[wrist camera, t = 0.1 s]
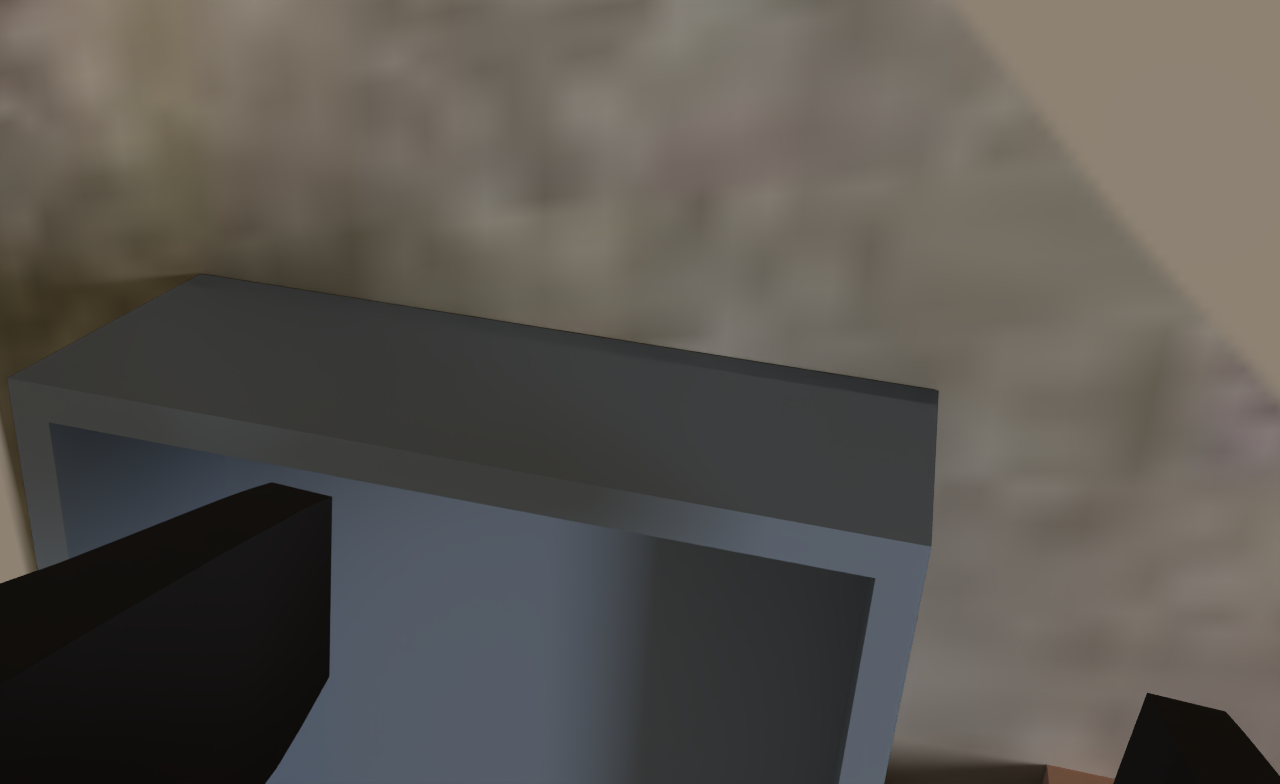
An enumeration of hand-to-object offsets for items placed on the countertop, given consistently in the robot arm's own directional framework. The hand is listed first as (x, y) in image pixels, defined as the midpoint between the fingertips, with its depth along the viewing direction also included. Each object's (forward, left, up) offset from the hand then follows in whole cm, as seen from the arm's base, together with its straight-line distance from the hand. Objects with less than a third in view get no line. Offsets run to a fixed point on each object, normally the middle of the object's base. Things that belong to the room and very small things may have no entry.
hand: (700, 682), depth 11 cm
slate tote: (-10, +4, -10) cm, 15 cm away
